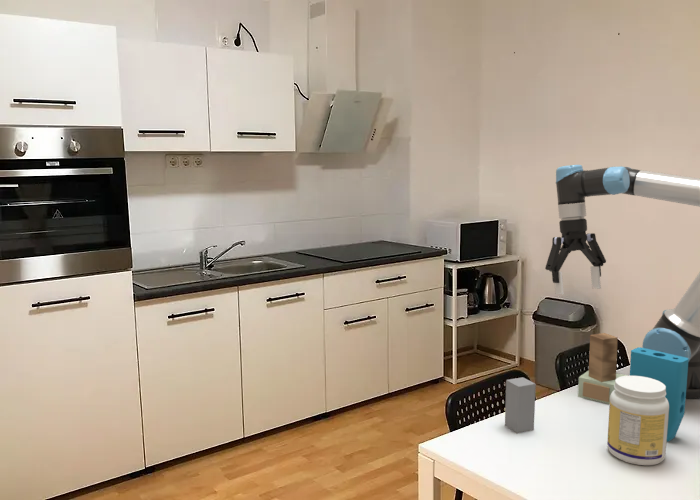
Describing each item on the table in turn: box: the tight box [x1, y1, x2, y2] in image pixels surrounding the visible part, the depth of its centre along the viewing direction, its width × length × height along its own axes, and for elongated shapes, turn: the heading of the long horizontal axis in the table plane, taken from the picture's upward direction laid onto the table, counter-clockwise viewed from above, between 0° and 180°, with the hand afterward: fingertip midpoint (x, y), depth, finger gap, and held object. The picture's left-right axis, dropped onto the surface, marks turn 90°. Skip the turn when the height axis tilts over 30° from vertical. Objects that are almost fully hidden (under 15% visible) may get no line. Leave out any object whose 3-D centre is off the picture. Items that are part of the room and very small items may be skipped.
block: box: [629, 346, 689, 443], centre depth 152 cm, size 12×5×20 cm, turn 40°
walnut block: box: [588, 332, 619, 382], centre depth 174 cm, size 5×5×12 cm
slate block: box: [504, 377, 537, 434], centre depth 156 cm, size 5×5×12 cm
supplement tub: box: [606, 375, 669, 466], centre depth 141 cm, size 12×12×17 cm
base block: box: [577, 369, 628, 405], centre depth 177 cm, size 10×10×6 cm
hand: (578, 291), depth 184 cm, fingers open, 13 cm apart
